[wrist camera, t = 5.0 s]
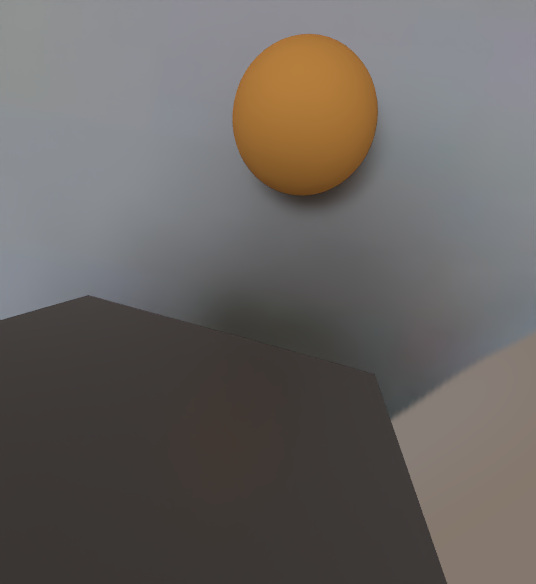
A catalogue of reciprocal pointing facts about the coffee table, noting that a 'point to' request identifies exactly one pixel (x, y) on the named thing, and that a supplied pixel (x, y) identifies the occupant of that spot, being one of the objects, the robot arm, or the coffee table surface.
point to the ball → (305, 114)
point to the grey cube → (194, 459)
